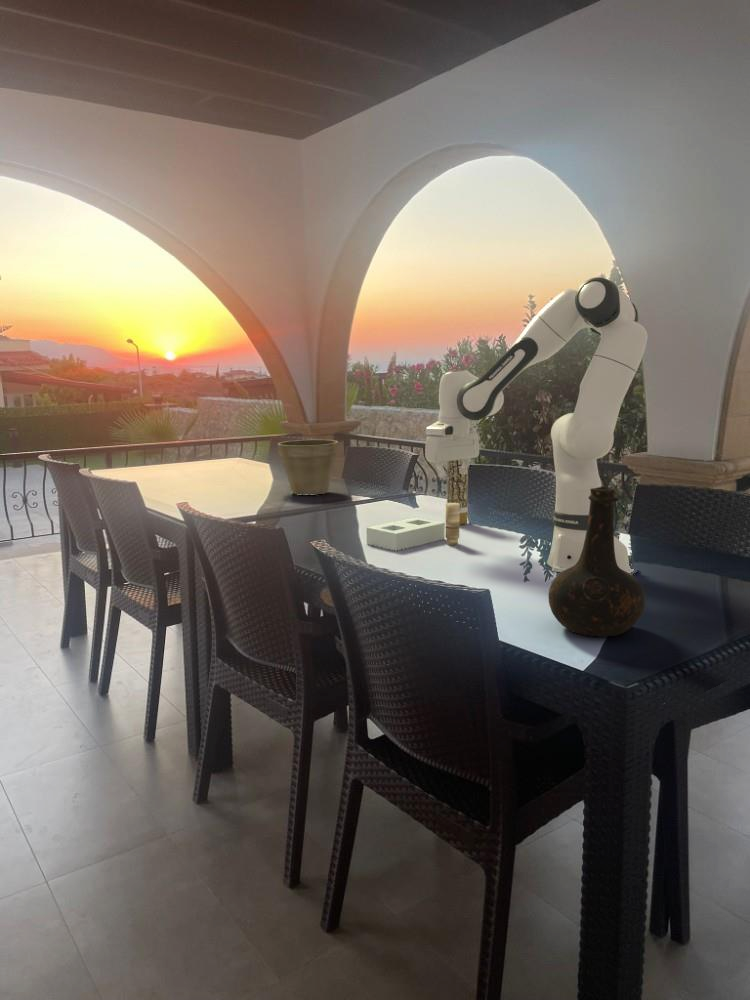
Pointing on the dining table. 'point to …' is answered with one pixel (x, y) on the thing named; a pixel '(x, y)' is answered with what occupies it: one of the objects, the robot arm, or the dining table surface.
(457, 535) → the peg
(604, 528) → the glass bottle
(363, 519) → the dining table surface
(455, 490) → the bark-textured cylinder
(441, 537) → the board
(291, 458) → the plant pot
